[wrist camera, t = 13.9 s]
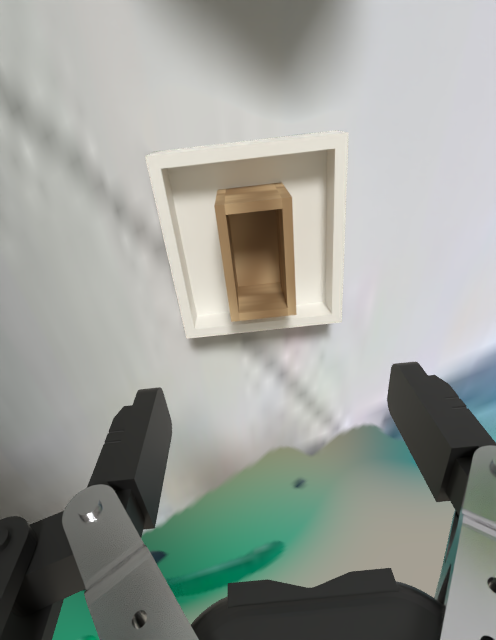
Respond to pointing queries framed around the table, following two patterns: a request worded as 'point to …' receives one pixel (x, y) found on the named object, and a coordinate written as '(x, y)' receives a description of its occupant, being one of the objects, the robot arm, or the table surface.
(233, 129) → the table surface
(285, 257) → the small crate
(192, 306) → the large crate
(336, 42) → the table surface
